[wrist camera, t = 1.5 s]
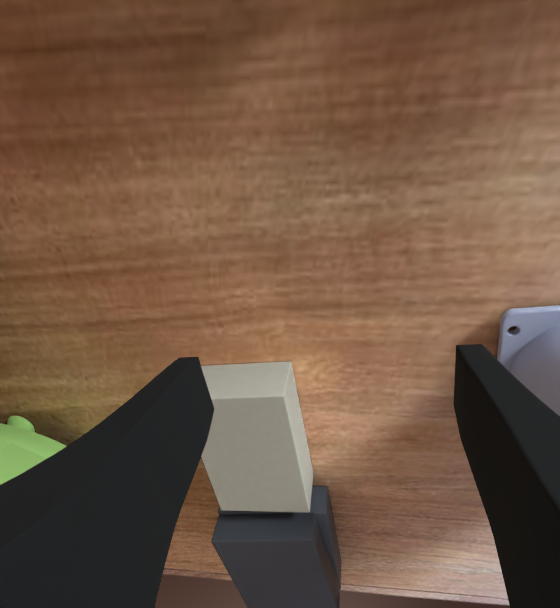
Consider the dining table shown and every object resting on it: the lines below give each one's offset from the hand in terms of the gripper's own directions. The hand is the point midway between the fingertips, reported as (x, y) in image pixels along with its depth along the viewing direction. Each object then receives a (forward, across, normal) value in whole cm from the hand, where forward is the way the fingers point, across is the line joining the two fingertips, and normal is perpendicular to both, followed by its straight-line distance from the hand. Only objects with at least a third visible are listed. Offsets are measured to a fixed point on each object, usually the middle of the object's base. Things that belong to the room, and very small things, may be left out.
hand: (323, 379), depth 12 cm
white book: (+9, +6, +11) cm, 15 cm away
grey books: (+9, +6, +21) cm, 23 cm away
